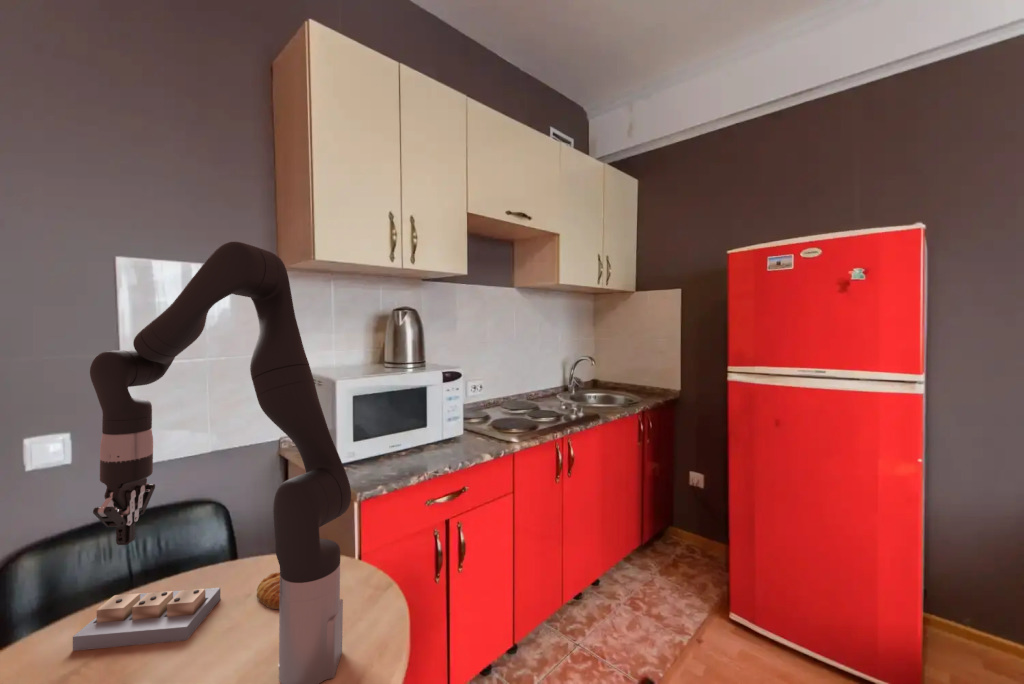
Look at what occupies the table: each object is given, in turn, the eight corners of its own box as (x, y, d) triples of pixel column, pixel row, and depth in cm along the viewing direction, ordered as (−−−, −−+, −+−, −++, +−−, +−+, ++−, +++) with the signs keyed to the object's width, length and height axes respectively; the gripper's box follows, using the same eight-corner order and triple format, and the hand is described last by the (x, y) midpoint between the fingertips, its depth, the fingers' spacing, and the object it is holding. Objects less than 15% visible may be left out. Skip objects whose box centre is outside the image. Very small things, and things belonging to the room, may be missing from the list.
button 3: (173, 603, 84) (173, 589, 84) (158, 617, 80) (158, 603, 80) (148, 605, 83) (148, 591, 83) (132, 620, 79) (132, 605, 79)
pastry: (302, 601, 89) (302, 584, 89) (267, 617, 84) (267, 598, 84) (286, 583, 96) (286, 566, 95) (253, 596, 91) (253, 578, 91)
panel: (220, 599, 89) (220, 587, 89) (186, 640, 77) (186, 626, 77) (123, 606, 86) (123, 594, 86) (72, 650, 74) (72, 636, 74)
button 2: (205, 600, 85) (205, 587, 85) (192, 615, 81) (192, 601, 81) (180, 602, 84) (181, 589, 84) (166, 617, 80) (167, 603, 80)
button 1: (140, 605, 83) (140, 592, 83) (123, 620, 79) (123, 606, 79) (114, 607, 82) (114, 594, 82) (96, 623, 78) (96, 608, 78)
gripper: (123, 464, 75) (121, 560, 75) (171, 444, 88) (169, 526, 88) (74, 465, 74) (73, 562, 74) (130, 444, 87) (129, 527, 87)
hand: (125, 542), depth 81 cm, fingers closed
